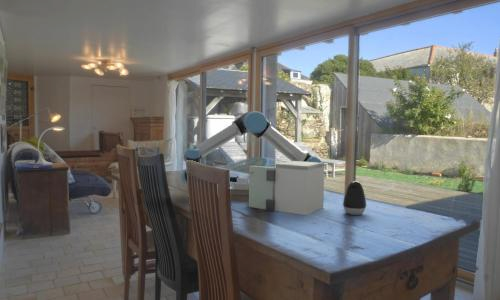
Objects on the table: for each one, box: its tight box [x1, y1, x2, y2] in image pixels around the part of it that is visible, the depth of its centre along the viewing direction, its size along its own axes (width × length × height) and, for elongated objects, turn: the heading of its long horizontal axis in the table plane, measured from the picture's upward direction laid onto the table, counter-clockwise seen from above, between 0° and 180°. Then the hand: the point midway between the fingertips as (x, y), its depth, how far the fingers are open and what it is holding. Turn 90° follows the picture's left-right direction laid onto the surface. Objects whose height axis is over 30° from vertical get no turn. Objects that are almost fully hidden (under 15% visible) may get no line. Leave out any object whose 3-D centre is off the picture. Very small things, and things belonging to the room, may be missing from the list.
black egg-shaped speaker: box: [342, 180, 367, 216], centre depth 177 cm, size 10×10×15 cm
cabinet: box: [274, 160, 325, 216], centre depth 185 cm, size 20×16×22 cm
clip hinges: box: [265, 170, 276, 212], centre depth 184 cm, size 7×4×19 cm, turn 147°
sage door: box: [248, 165, 276, 210], centre depth 186 cm, size 4×13×20 cm, turn 57°
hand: (240, 183), depth 194 cm, fingers open, 13 cm apart
